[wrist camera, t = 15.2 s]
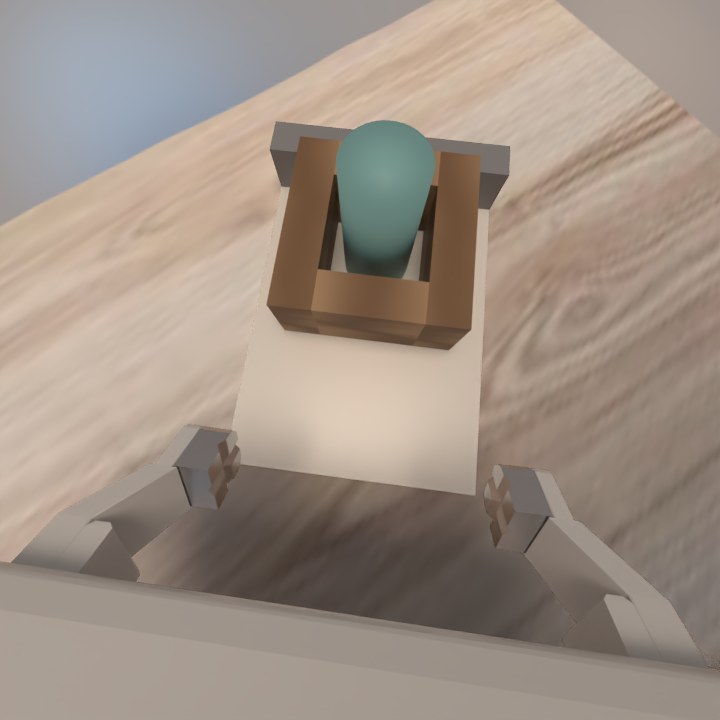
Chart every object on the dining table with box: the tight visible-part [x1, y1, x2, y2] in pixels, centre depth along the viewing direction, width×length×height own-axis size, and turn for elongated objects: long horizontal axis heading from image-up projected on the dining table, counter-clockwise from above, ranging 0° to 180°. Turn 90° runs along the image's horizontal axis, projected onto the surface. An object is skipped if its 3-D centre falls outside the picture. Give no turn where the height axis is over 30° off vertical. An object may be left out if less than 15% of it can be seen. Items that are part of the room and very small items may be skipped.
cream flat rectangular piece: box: [231, 122, 510, 496], centre depth 19 cm, size 14×20×4 cm
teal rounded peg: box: [336, 120, 435, 279], centre depth 17 cm, size 4×4×8 cm
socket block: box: [266, 136, 481, 350], centre depth 19 cm, size 10×10×4 cm
